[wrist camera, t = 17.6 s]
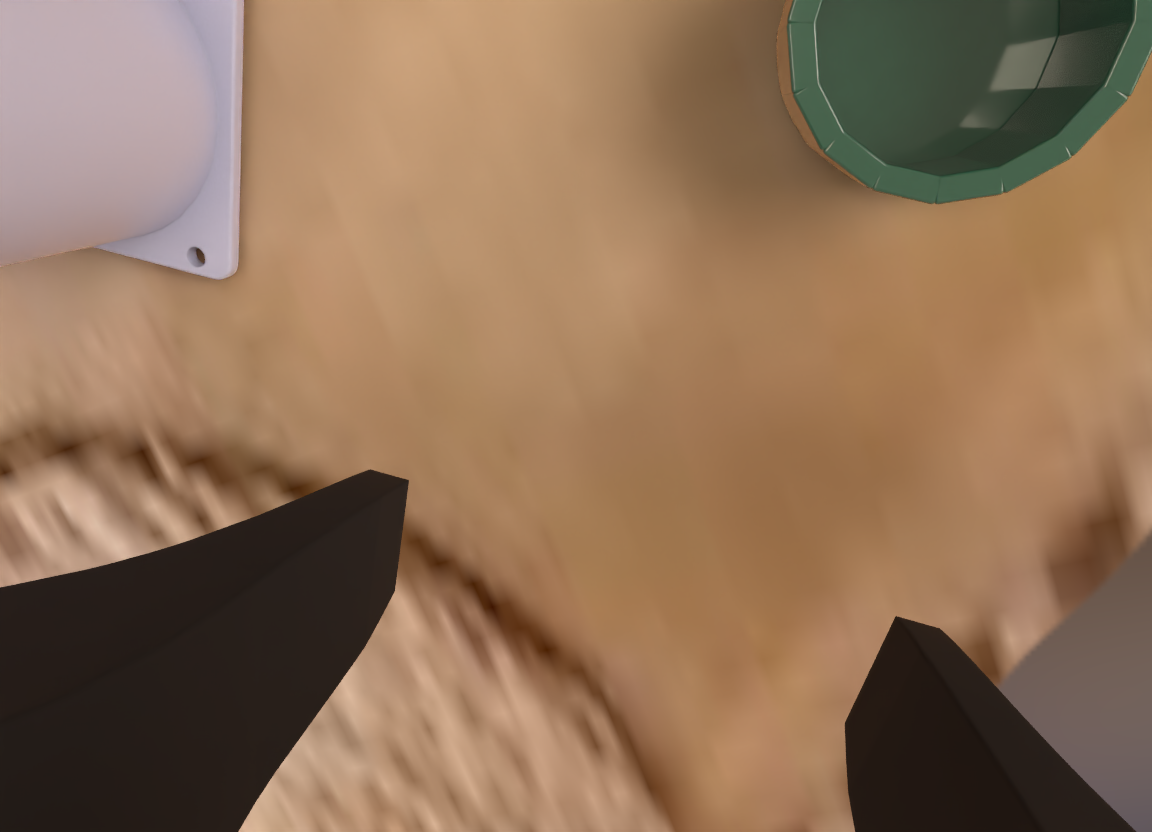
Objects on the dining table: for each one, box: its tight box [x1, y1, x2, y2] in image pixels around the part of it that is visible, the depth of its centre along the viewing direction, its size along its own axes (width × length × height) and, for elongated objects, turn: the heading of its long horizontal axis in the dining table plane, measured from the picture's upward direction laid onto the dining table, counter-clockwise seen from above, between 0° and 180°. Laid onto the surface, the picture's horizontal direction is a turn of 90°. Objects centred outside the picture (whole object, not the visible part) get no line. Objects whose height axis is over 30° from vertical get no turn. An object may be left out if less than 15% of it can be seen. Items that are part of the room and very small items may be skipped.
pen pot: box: [776, 0, 1152, 204], centre depth 14 cm, size 6×6×4 cm
